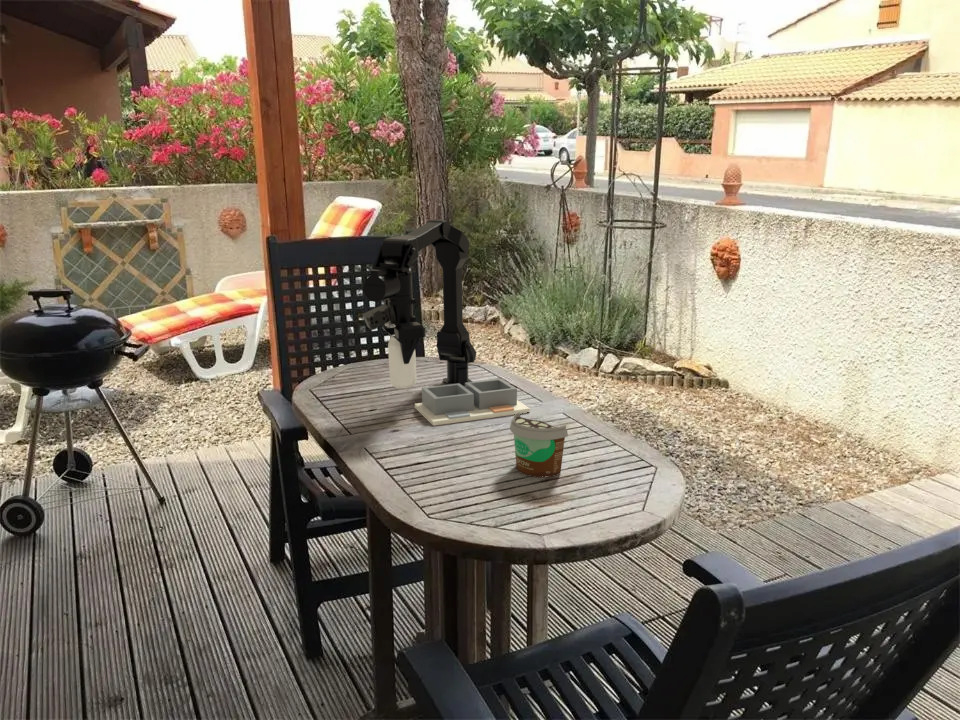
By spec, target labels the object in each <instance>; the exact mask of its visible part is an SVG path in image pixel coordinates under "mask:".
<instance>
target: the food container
mask: <svg viewBox="0 0 960 720" xmlns="http://www.w3.org/2000/svg"><path fill="white" fill-rule="evenodd" d="M509 430H510V432H511V433H512V434H513V440H514V441H513V442H514V452H515V454H514V455H515V464H516V465H515V466H516V470H517V472H518V473H520V472H521V473H520V474H522V473H523V474H522V475H524V474H525V476H528V475H531V476H530V477H533V476H536V477H535V478H546V477H545V476H551V477H554V476H553V475H555V476H558V475H560V474H559V473H561V472H562V463H563V454H564V447H565V438H566V437H568V436H569V434H568V428H567V425H566V424H565V425H561V426H558V427H557V426H553V425H551V424H550V423H546V422H544V421H542V420H536V419H529V418H525V417H521V414H520V412H519V413H517V414H515V415H512V419H511V421H510V426H509ZM557 474H558V475H557ZM542 476H543V477H542Z"/></svg>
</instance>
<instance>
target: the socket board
mask: <svg viewBox="0 0 960 720" xmlns="http://www.w3.org/2000/svg"><path fill="white" fill-rule="evenodd" d="M421 399H422V400H421V401H422V402H418V403H414V409H415V410H417V411H418V412H419V414H420V415H422V416H423V417H424V419H426V420H427V421H428V422H429V423H430V424H431V425H432V426H441V425H449V424H455V423H463V422H469V421H476V420H485V419H492V418H499V417H506V416H514V414H517V413H519V412H520V415H521V414H522V413H523V414H528V413H527V412H530V413H531V408H530V407H528V406H527V405H525V404H524V403H523V402H521V401H519V400H518V388H517V387H515V386H514V385H512V384H510V383H509V382H507V381H505V380H504V379H503V378H494V379H493V378H492V379H485V380H477V381H473V382H466V383H465V385H461V384H460V383H458V384H449V385H448V384H443V385H441V384H440V385H433V386H425V387H421Z"/></svg>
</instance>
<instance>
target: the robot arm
mask: <svg viewBox="0 0 960 720" xmlns="http://www.w3.org/2000/svg"><path fill="white" fill-rule="evenodd" d="M469 240H470V239H468V237H467V236H466V235H465V233H464V232H463V231H461V230H459V229H458V228H457V227H456V228H455V226H452V225H451V224H450V223H449V222H448V221H447V220H445V219H444V220H443V219H431V220H427V221H426V223H424V224H422V225H421V226H419V227H417V228H416V229H414V230H412V231H410V232H409V233H407V234H405V235H397V236H391V237H387V238H385V239H384V240H383V241H382V242H381V245H380V247H379V250H378V254H377V256H376V259H375V262H374V265H373V269H371V270H370V275H369V276H367V278H366V279H365V281H364V284H363V286H362V287H363V293H364V295H365V296H366V298H367V299H368V300H370V302H374V303H377V302H381V301H383V304H382V305H380V306H378V307H375V308H372V309H369V311H366V312H364V313H363V314H362V317H363V319H364V321H365V324H366V327H367V328H369V330H371V331H373V330H376V329H378V327H380V326H381V328H382V329H383V330H384V331H385V332H387V333H388V334H389V338H391V335H394V334H395V336H393V337H394V338H395V339H396V340H397V341H399V343H400V347H401V352H402V358H403V362H404V364H409V362H410V359H411V357H412V355H413V352H414V350H415V351H416V348H417V346H418V344H419V341H420V340H421V339H422V338H426V328H425V327H424V325H422V324H421V323H419V322H417V317H416V316H415V315H414V305H415V304H416V299H415V298H413V273H415V272H416V271H417V269H416V267H415V266H413V263H414V262H415V261H416V260H417V259H418V258H419V257H420V255H419V252H420V251H422V250H424V249H425V248H427V247H428V246H431V247H432V248H433V249H434V251H435V258H436V260H437V262H438V265H440V267H441V269H442V298H443V299H442V300H443V301H442V302H443V325H442V326H441V328H440V330H438V331H437V333H436V349H437V350H436V351H437V354H438V358H439V360H440V361H446V378H442V381H443V382H444V383H446V385H449V384H458V383H460V384H461V385H462V386H465V383H466V382H474V381H472V380H471V379H470V378H469V364H470V363H475V361H476V358H477V351H476V349H475V348H474V346H473V344H472V343H471V341H470V339H471V338H470V332H469V331H468V329H467V328H466V326H465V324H464V322H463V321H464V319H463V316H464V315H463V267H464V264H465V263H466V261H467V259H468V257H469V250H470V241H469Z"/></svg>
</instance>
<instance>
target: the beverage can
mask: <svg viewBox="0 0 960 720" xmlns="http://www.w3.org/2000/svg"><path fill="white" fill-rule="evenodd" d="M393 336H395V334H394V335H391V337H390V339H389V341H388V343H387V349H388V351H387V352H388V371H389V384H390V386H393V387H394V388H397V389H408V388H412V387H413V386H414V385H415V384H416V383H417V360H416V359H417V358H416V357H417V355H416V349H415V350H414V352H413V355H412V357H411V359H410V362H409V364H404V362H403V358H402V352H401V347H400V343H399V341H397V340H396V339H395V338H394V337H393Z"/></svg>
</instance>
